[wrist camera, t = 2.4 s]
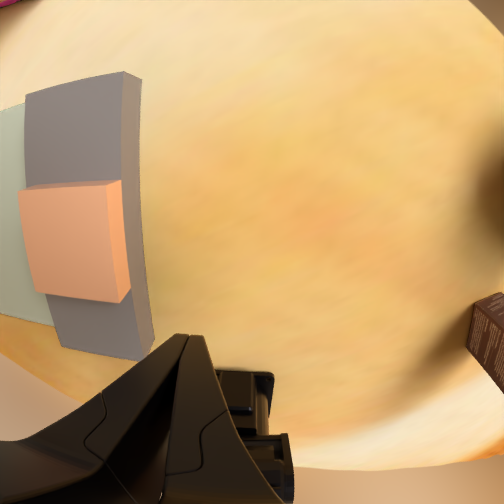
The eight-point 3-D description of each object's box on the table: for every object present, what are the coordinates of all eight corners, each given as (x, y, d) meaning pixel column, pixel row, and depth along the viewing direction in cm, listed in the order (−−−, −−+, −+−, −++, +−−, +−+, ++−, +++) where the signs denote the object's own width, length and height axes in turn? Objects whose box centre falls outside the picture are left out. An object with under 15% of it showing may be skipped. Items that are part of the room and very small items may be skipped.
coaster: (130, 287, 18) (119, 303, 17) (50, 279, 18) (35, 291, 16) (121, 179, 16) (105, 185, 14) (35, 185, 16) (17, 191, 14)
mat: (72, 326, 23) (69, 329, 23) (-5, 309, 23) (-7, 311, 23) (45, 98, 16) (41, 97, 16) (-34, 125, 16) (-37, 126, 16)
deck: (154, 339, 24) (144, 362, 21) (76, 327, 23) (61, 346, 21) (141, 79, 16) (123, 71, 14) (49, 96, 16) (25, 94, 13)
